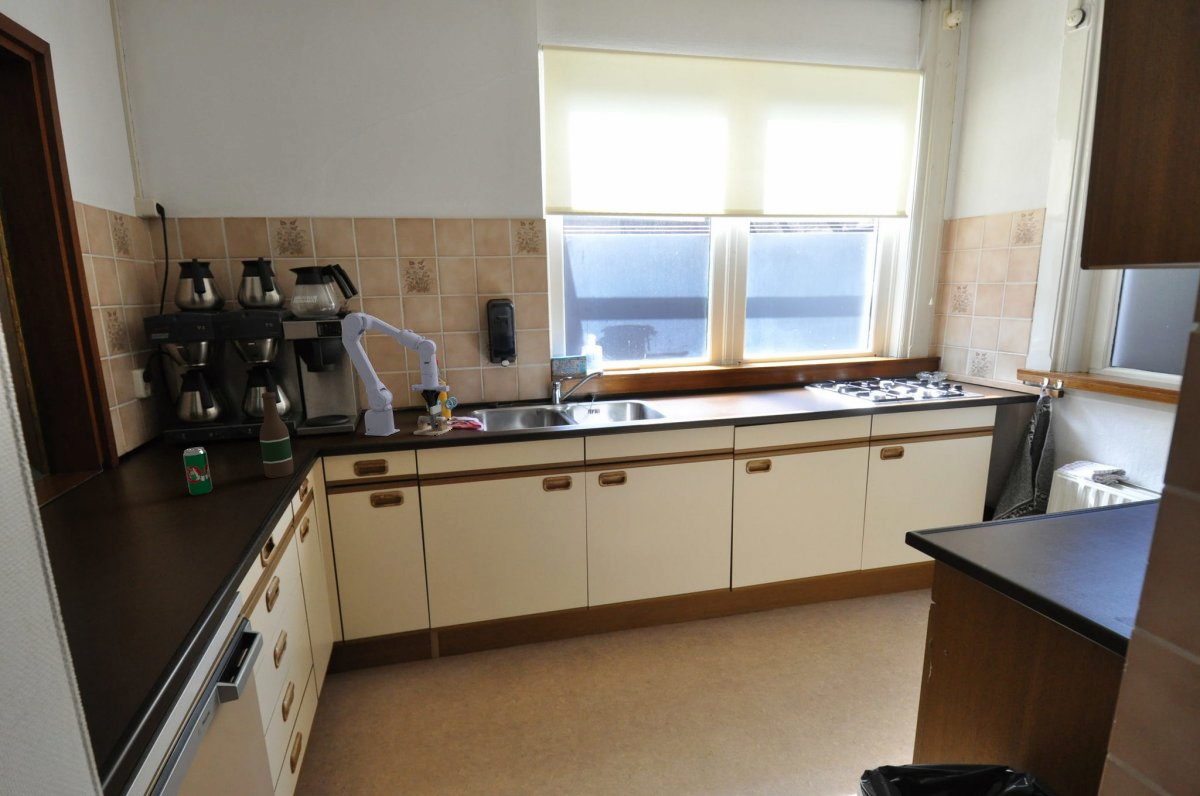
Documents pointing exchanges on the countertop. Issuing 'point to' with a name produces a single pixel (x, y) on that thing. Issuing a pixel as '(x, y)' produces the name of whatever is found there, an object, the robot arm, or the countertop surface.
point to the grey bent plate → (435, 412)
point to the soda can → (197, 471)
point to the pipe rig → (427, 430)
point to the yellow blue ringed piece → (445, 402)
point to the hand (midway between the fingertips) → (432, 410)
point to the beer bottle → (274, 441)
